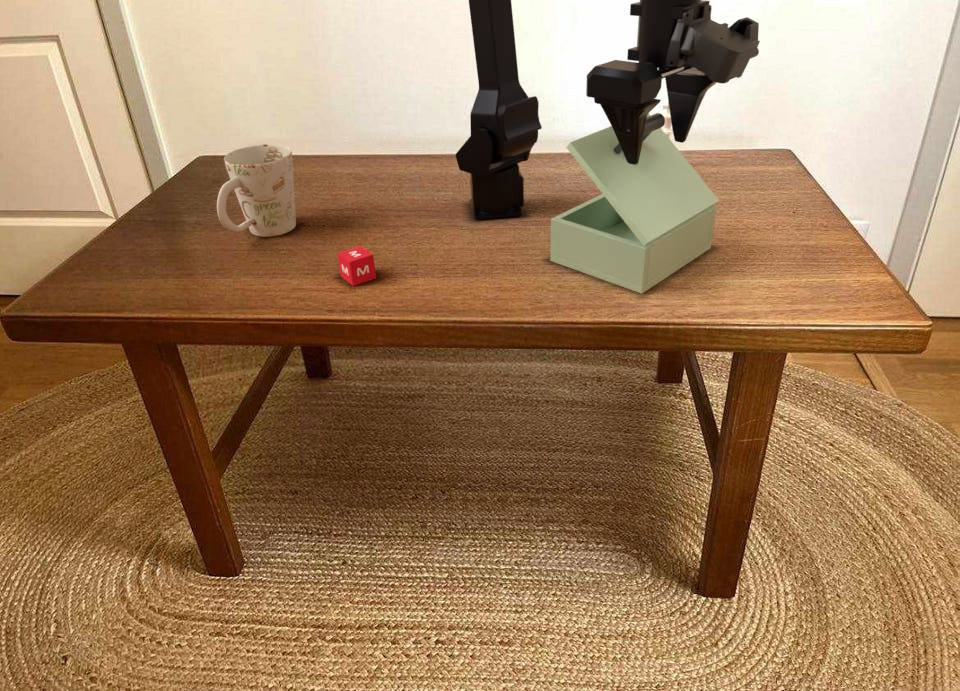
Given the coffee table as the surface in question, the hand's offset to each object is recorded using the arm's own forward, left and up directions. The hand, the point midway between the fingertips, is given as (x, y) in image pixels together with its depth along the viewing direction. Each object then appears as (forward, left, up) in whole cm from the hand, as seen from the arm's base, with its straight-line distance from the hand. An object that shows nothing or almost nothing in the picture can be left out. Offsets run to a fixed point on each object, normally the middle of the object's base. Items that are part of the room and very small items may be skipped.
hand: (657, 152), depth 77 cm
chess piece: (+12, +30, -13) cm, 34 cm away
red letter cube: (-33, +2, -13) cm, 36 cm away
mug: (-46, +17, -13) cm, 51 cm away
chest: (-1, +2, -13) cm, 13 cm away
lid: (-1, +1, -3) cm, 3 cm away
